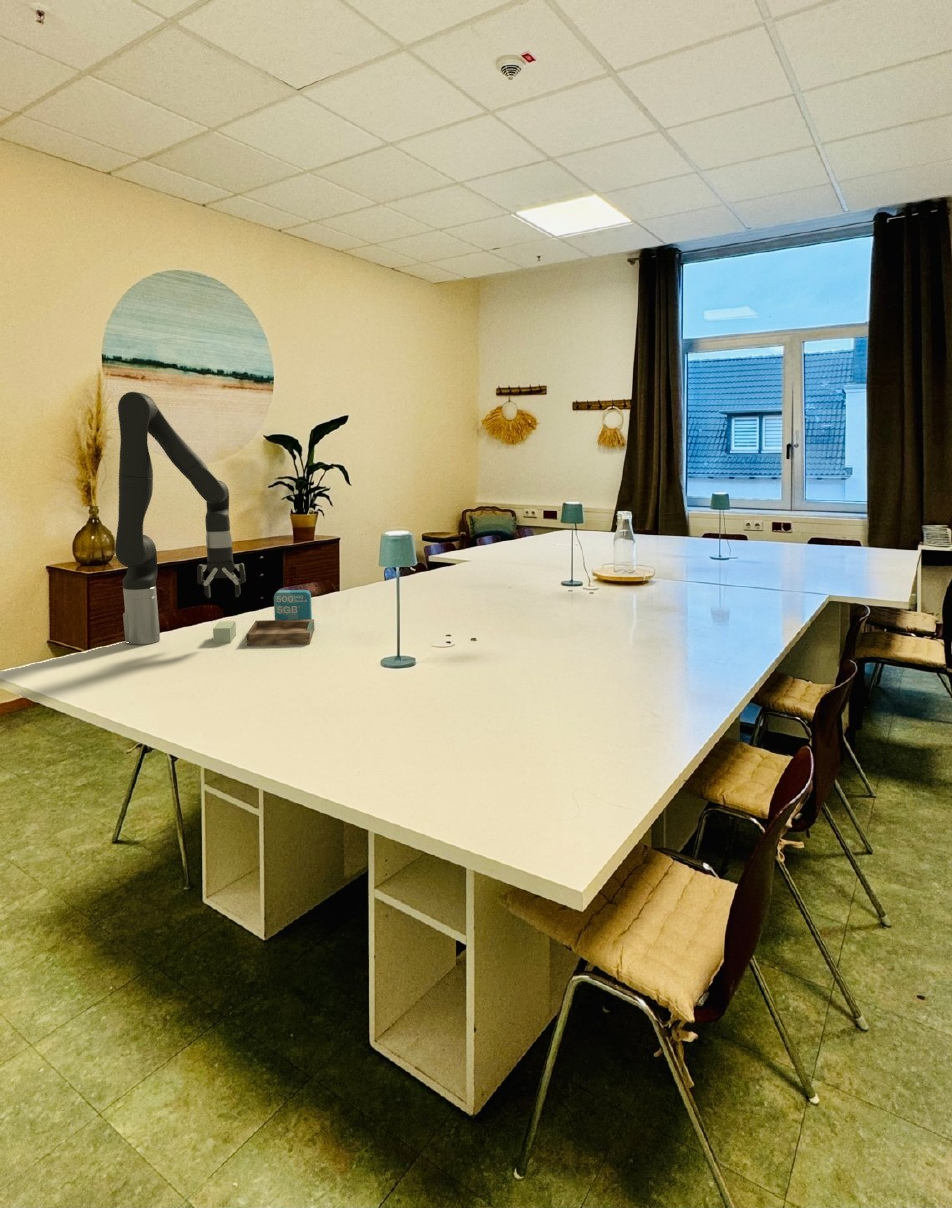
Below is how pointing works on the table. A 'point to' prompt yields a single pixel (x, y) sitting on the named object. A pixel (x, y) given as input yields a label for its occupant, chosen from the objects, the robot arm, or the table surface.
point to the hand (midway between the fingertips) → (223, 596)
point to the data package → (292, 605)
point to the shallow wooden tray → (280, 632)
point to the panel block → (224, 632)
